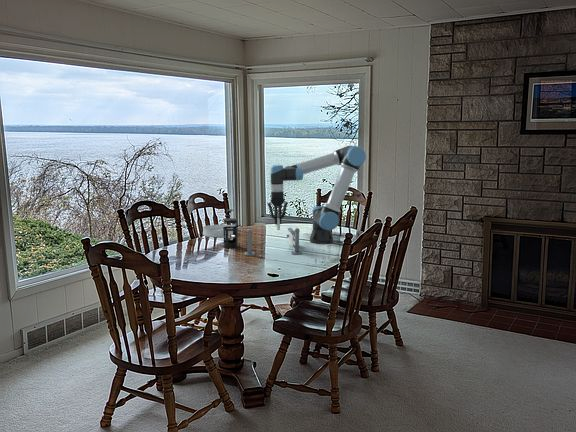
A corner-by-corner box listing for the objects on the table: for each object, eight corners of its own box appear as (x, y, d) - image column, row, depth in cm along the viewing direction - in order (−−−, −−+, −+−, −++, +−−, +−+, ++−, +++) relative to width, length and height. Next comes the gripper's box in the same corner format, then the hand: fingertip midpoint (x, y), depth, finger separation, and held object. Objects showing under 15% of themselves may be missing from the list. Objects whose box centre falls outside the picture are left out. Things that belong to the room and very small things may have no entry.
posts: (301, 252, 314) (301, 227, 312) (302, 254, 308) (302, 229, 306) (244, 253, 311) (244, 227, 308) (244, 255, 305) (244, 229, 302)
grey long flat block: (298, 250, 313) (298, 235, 311) (292, 250, 312) (293, 235, 311) (291, 242, 335) (291, 227, 334) (286, 242, 335) (286, 228, 333)
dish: (241, 233, 371) (241, 226, 370) (222, 239, 352) (222, 231, 351) (216, 230, 382) (216, 223, 381) (196, 235, 363) (196, 228, 362)
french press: (233, 249, 321) (232, 211, 318) (219, 247, 325) (218, 210, 321) (242, 245, 332) (242, 208, 328) (229, 243, 336) (228, 207, 332)
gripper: (285, 189, 326) (286, 227, 330) (265, 190, 322) (266, 229, 326) (289, 191, 319) (290, 229, 323) (268, 192, 315) (269, 231, 319)
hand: (278, 229), depth 324 cm, fingers closed
